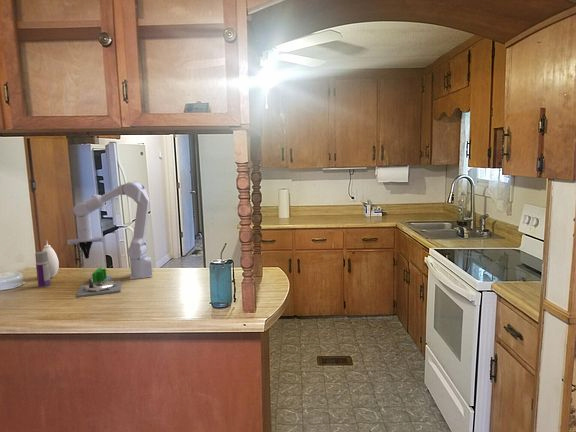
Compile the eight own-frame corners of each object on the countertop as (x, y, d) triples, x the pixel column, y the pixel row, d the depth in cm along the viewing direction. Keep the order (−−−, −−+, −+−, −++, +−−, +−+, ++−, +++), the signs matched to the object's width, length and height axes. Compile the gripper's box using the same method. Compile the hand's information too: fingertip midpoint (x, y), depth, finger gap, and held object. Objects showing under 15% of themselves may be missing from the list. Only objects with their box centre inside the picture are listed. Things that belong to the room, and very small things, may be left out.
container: (35, 287, 176) (32, 253, 174) (45, 284, 181) (42, 251, 179) (43, 288, 175) (39, 254, 173) (53, 285, 179) (50, 251, 177)
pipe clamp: (102, 283, 180) (101, 273, 179) (93, 284, 179) (92, 274, 179) (108, 276, 191) (107, 266, 190) (99, 276, 190) (98, 267, 190)
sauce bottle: (43, 276, 194) (39, 238, 192) (61, 274, 196) (58, 237, 194) (38, 280, 187) (34, 241, 184) (57, 278, 189) (54, 240, 187)
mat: (111, 276, 192) (111, 275, 192) (110, 283, 180) (110, 283, 180) (95, 278, 190) (95, 277, 189) (93, 285, 178) (92, 285, 178)
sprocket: (102, 281, 180) (102, 271, 179) (122, 284, 174) (121, 274, 173) (76, 289, 169) (75, 278, 168) (96, 293, 163) (95, 282, 162)
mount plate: (120, 282, 181) (120, 280, 181) (120, 292, 167) (120, 290, 167) (80, 287, 175) (80, 285, 175) (77, 297, 162) (76, 295, 161)
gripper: (102, 226, 193) (104, 254, 195) (67, 229, 187) (70, 257, 189) (101, 228, 186) (103, 257, 188) (65, 231, 181) (68, 261, 183)
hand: (87, 258), depth 188 cm, fingers closed
